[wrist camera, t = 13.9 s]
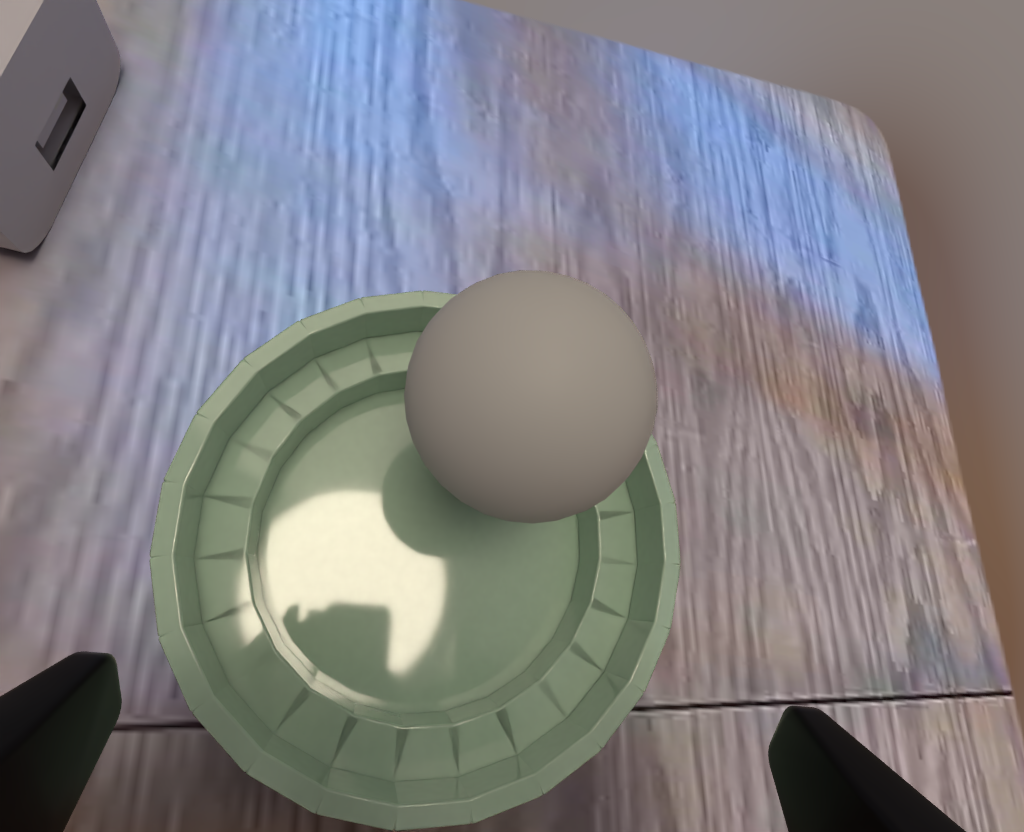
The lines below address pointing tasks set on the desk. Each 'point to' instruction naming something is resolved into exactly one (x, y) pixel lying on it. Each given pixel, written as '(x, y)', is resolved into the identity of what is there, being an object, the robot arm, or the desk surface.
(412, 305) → the bowl
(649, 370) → the lightbulb
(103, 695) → the robot arm
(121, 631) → the desk surface
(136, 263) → the desk surface
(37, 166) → the charger
